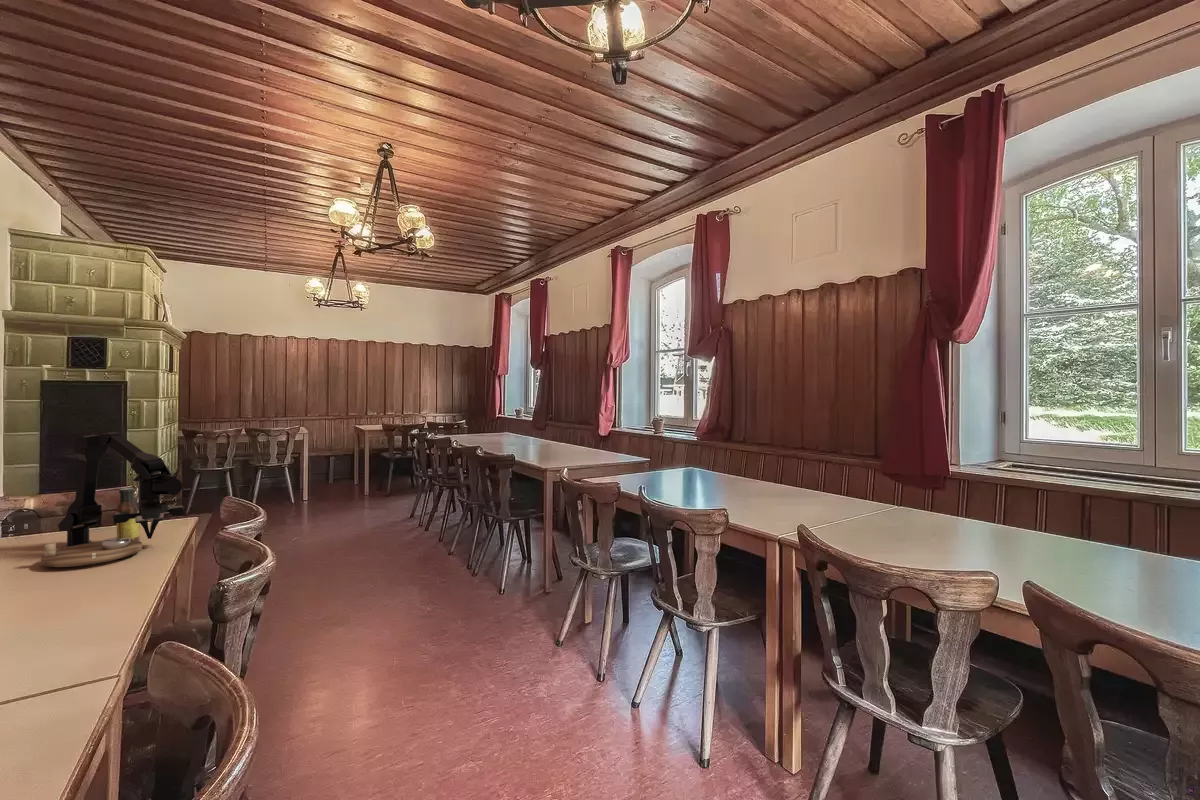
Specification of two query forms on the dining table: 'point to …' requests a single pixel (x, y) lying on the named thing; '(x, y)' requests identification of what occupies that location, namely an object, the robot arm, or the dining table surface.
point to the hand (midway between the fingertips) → (149, 538)
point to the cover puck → (115, 543)
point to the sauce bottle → (129, 505)
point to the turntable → (85, 554)
